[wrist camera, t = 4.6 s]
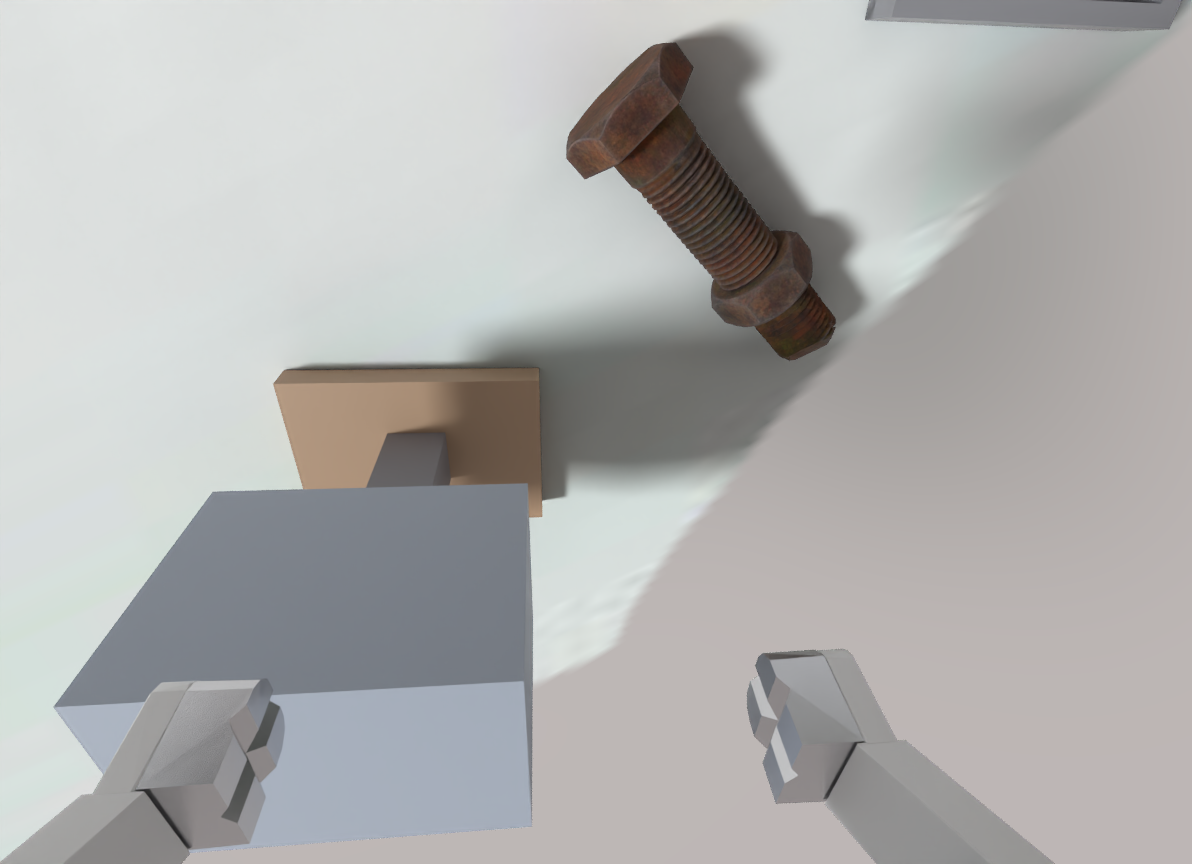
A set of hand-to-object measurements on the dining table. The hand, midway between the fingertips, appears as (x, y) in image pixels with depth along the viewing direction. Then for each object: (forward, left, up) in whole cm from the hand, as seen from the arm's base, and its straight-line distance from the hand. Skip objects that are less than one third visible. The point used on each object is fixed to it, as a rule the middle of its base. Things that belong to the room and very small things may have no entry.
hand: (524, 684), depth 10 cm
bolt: (-2, +9, -23) cm, 25 cm away
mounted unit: (+10, -6, -23) cm, 25 cm away
